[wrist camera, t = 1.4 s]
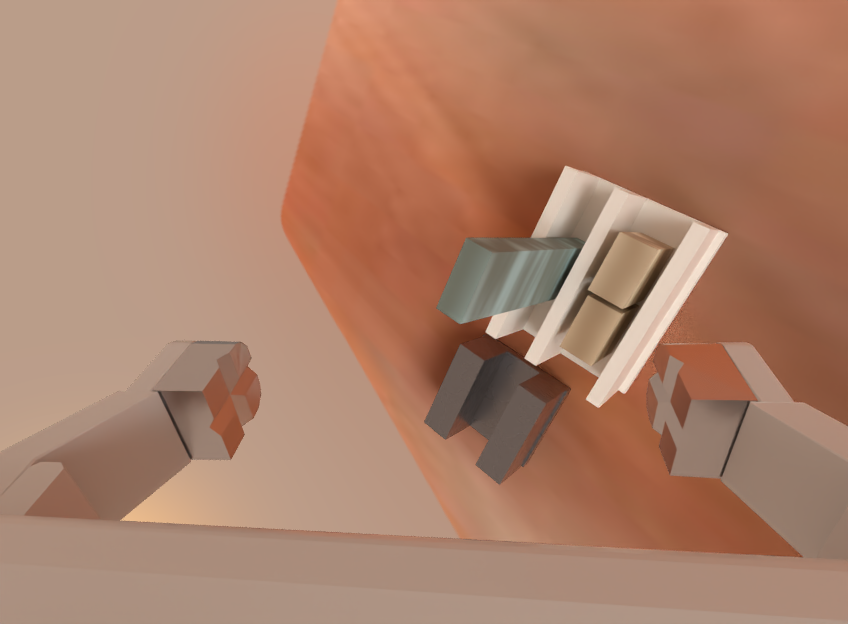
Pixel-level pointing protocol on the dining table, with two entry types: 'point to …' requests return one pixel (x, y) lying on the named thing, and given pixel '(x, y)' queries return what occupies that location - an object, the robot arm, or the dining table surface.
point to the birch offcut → (597, 329)
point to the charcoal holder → (497, 403)
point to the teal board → (506, 275)
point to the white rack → (599, 227)
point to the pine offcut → (630, 268)
